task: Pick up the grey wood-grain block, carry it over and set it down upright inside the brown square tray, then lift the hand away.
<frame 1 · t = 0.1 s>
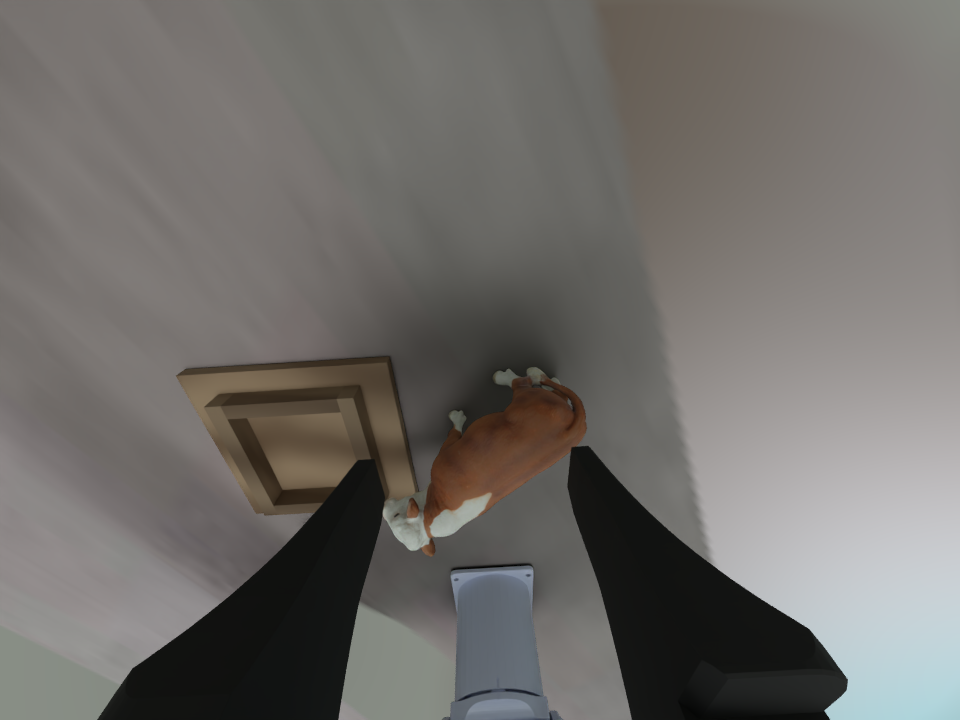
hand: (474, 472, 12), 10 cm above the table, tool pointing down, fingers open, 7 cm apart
brown square tray: (317, 440, 25), on the table
bull figurine: (480, 408, 24), on the table
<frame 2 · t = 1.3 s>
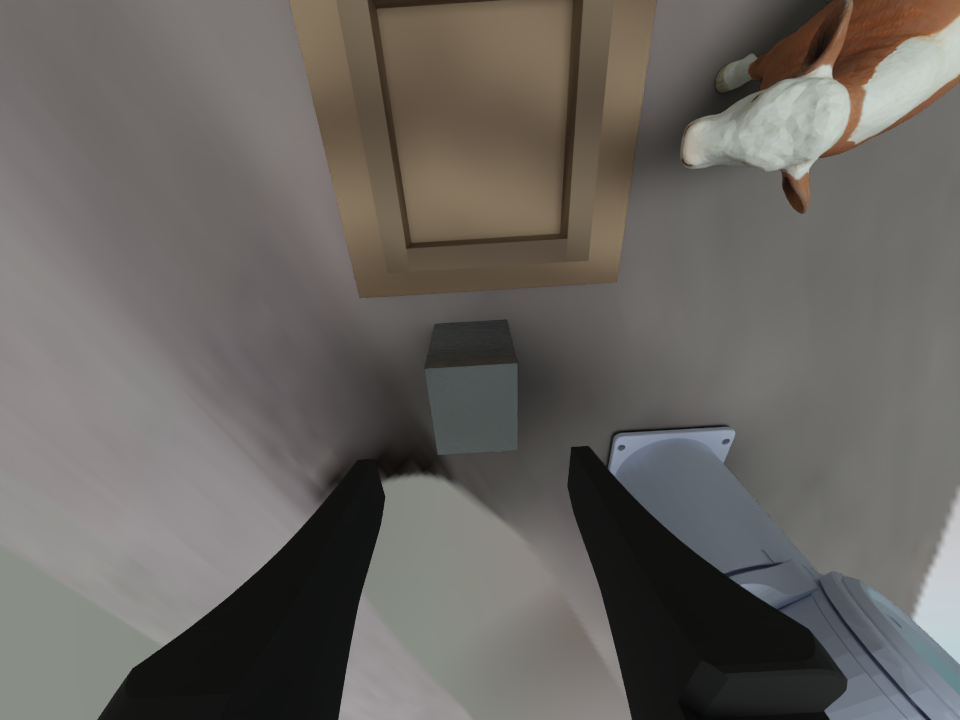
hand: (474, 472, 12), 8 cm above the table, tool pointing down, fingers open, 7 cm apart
brown square tray: (480, 138, 15), on the table
grey wood-grain block: (473, 360, 20), on the table
bull figurine: (768, 70, 14), on the table
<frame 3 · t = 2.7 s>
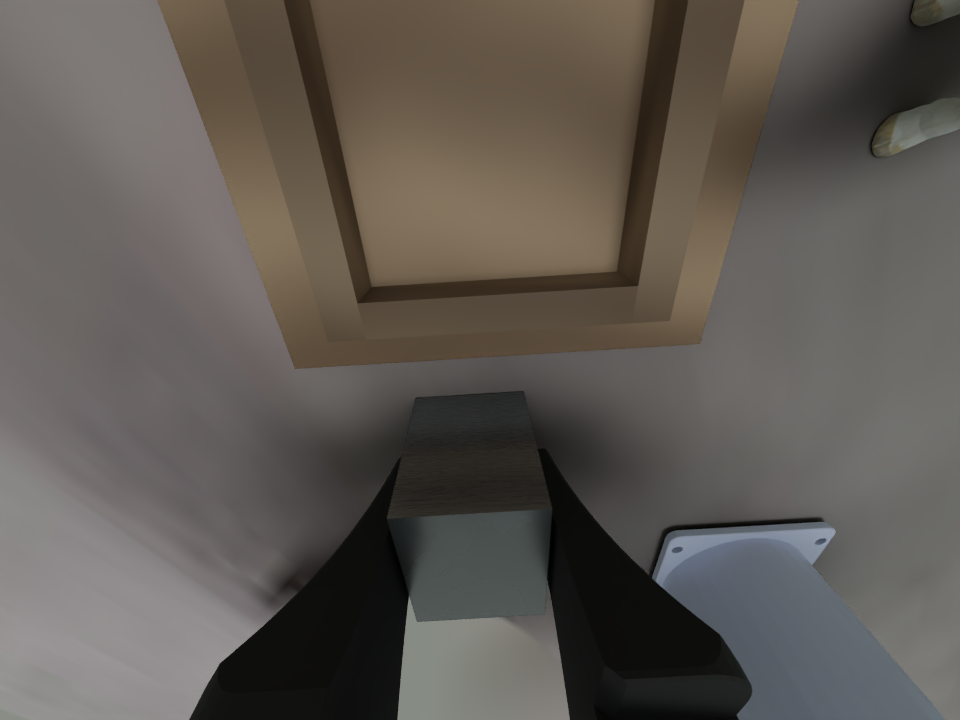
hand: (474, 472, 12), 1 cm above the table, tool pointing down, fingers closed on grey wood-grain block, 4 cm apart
brown square tray: (486, 111, 8), on the table
grey wood-grain block: (474, 445, 14), on the table, touching gripper
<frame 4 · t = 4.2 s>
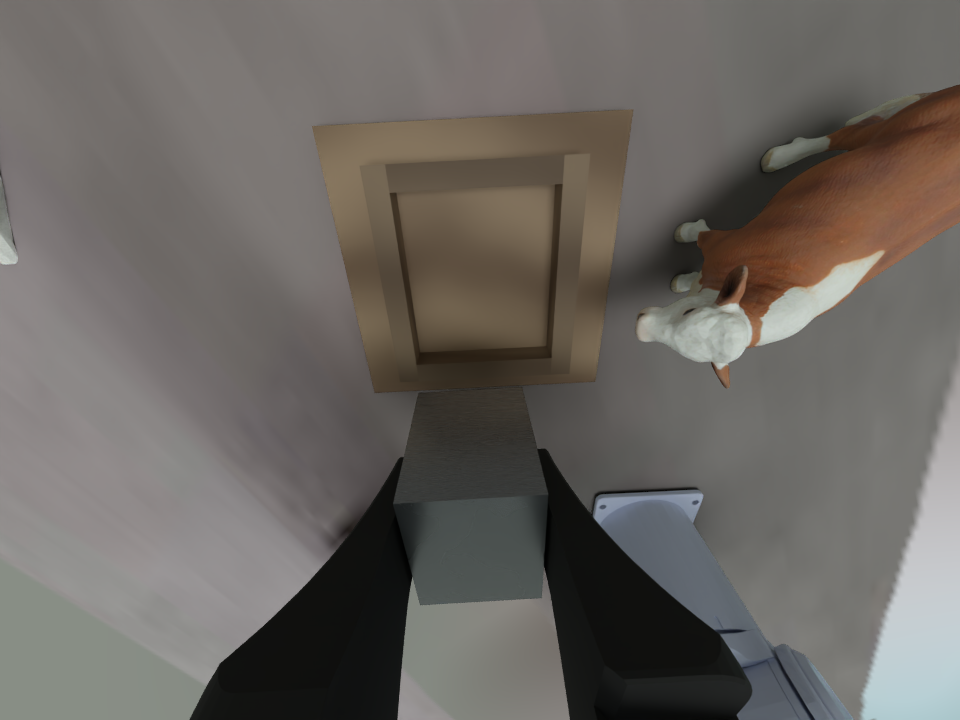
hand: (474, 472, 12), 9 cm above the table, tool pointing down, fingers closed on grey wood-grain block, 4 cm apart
brown square tray: (479, 273, 17), on the table
grey wood-grain block: (474, 439, 14), point 7 cm above the table, touching gripper
bull figurine: (718, 224, 17), on the table
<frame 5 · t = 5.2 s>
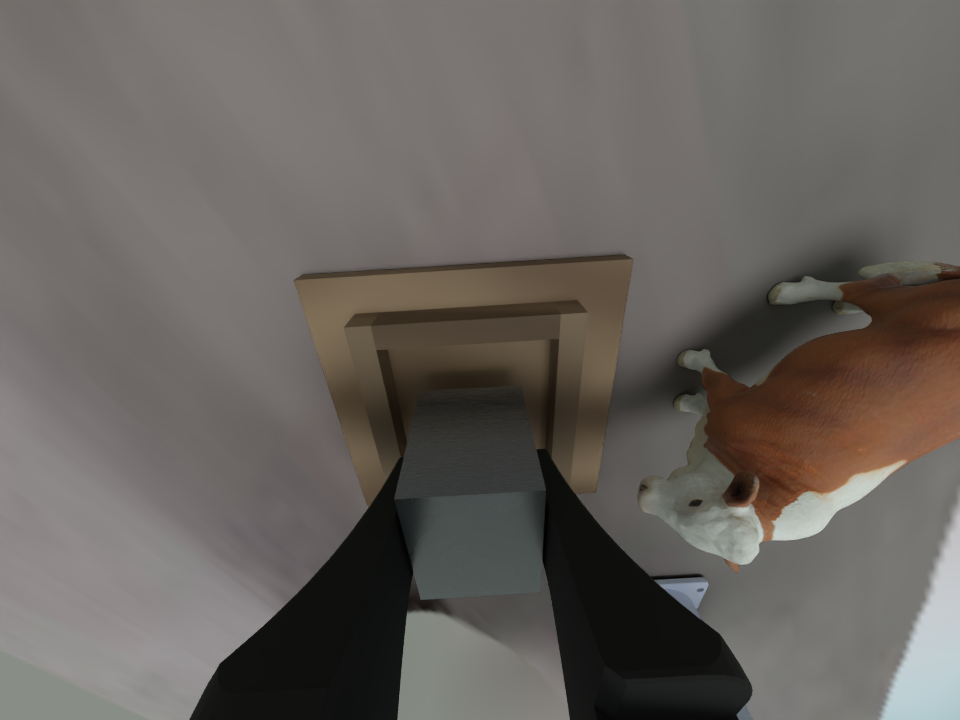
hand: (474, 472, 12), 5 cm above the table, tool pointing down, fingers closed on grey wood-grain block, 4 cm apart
brown square tray: (473, 397, 17), on the table
grey wood-grain block: (474, 436, 14), point 3 cm above the table, touching gripper
bull figurine: (723, 348, 16), on the table
when the fingers open (3 cm above the table, at t = 5.9 s): grey wood-grain block stays where it is, resting on brown square tray.
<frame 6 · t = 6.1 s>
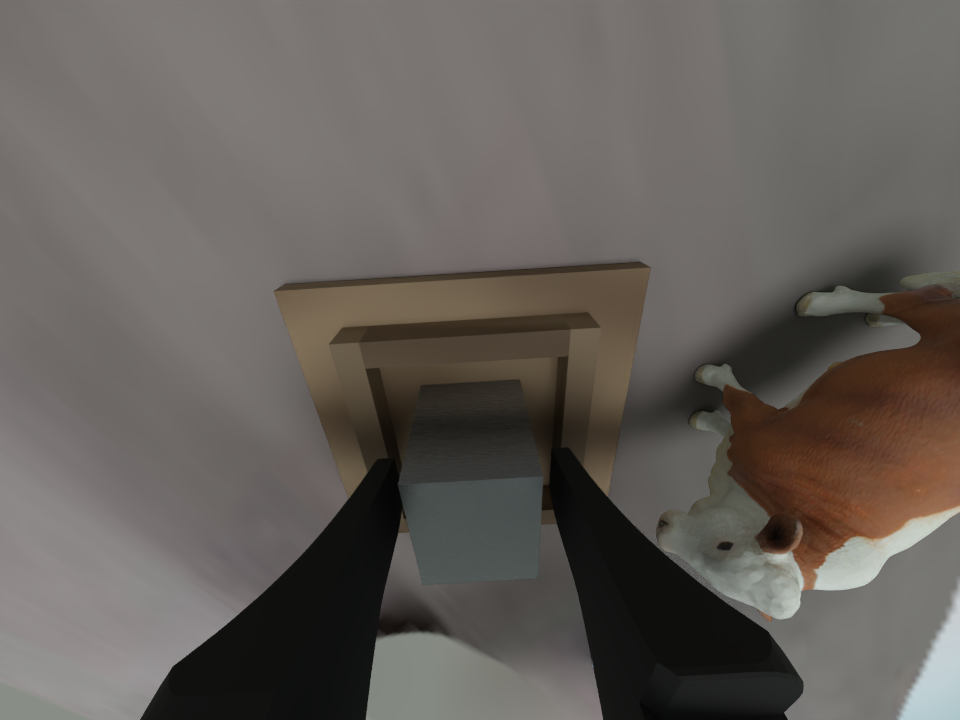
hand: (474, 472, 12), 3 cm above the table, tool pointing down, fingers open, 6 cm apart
brown square tray: (473, 414, 15), on the table
grey wood-grain block: (474, 429, 15), point 1 cm above the table, touching brown square tray
bull figurine: (744, 362, 15), on the table
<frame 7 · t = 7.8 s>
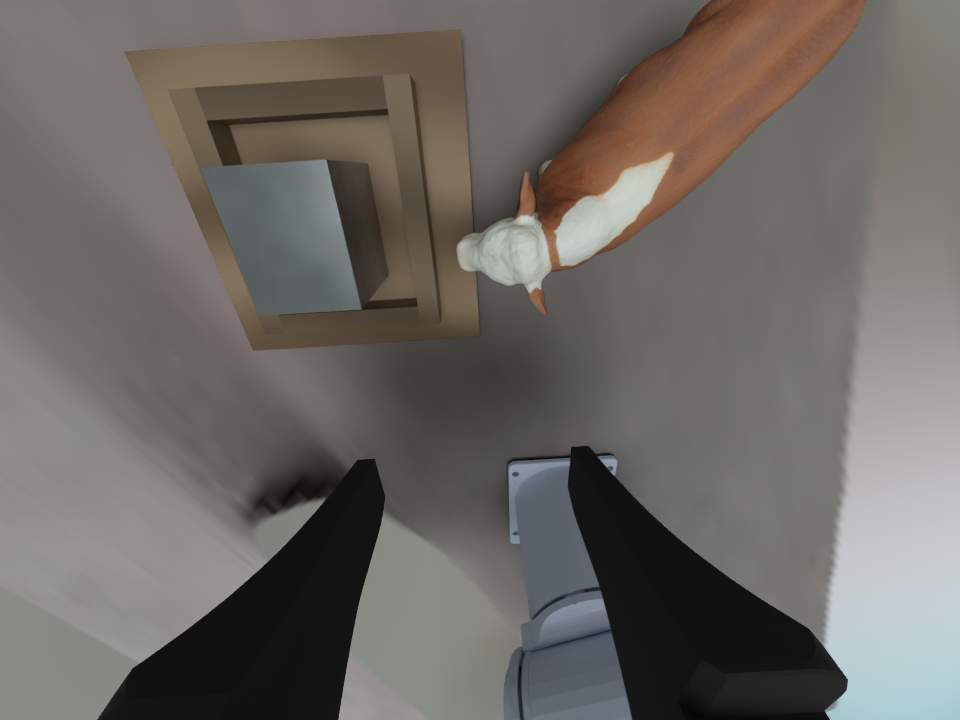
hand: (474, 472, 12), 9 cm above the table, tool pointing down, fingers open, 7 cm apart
brown square tray: (342, 219, 17), on the table
grey wood-grain block: (337, 226, 16), point 1 cm above the table, touching brown square tray
bull figurine: (584, 164, 16), on the table
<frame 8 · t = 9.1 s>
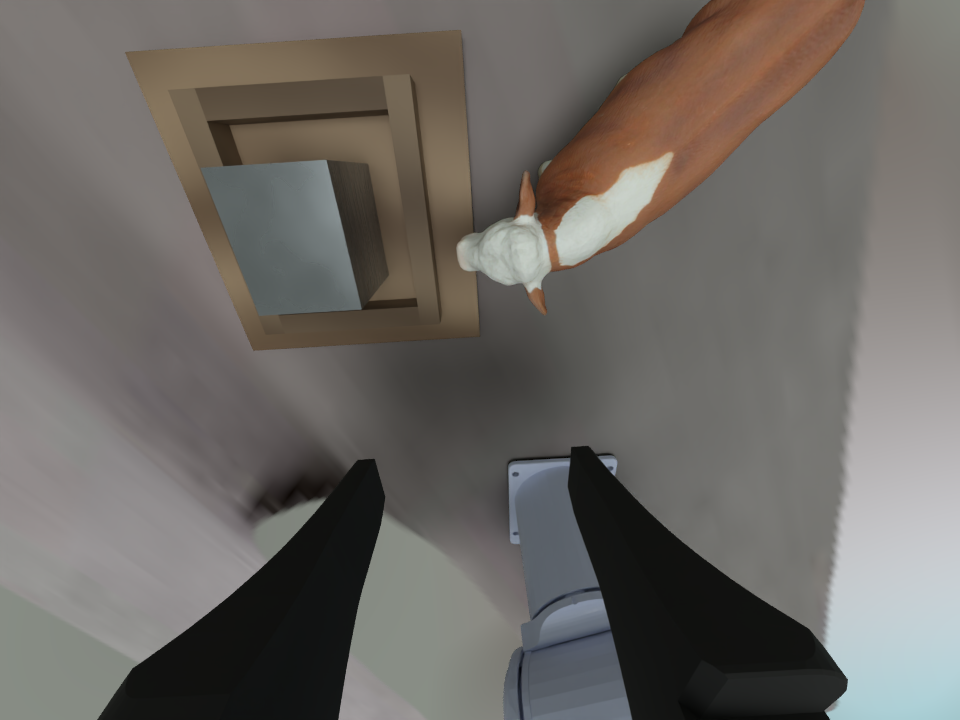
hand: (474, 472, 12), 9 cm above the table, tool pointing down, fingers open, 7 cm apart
brown square tray: (342, 219, 17), on the table
grey wood-grain block: (337, 226, 16), point 1 cm above the table, touching brown square tray
bull figurine: (584, 164, 16), on the table
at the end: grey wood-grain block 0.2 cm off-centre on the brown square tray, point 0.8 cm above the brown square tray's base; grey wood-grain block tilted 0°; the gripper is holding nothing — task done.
